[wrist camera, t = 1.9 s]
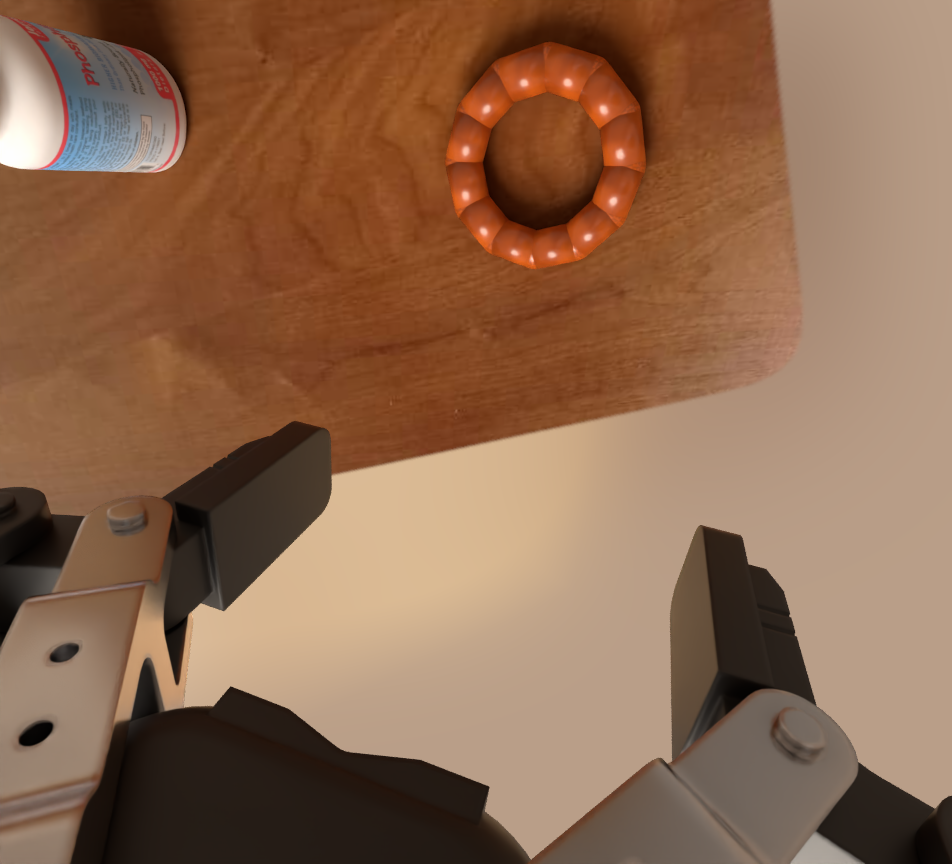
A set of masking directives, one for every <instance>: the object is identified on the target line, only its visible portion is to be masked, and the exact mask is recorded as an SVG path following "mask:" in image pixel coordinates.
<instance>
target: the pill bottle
mask: <svg viewBox="0 0 952 864" xmlns="http://www.w3.org/2000/svg"><path fill="white" fill-rule="evenodd" d="M185 140H186V113H185V107H184V103H183V99H182V96H181V93H180V91H179V89H178V86H177V85H176V83H175V81H174V79H173V78H172V76H171V75H170V74H169V72H168V71H167V70H166V69H165V67H164V66H163V65H162V64H161V63H160V62H158V61H157V60H156V59H155V58H153V57H152V56H150V55H149V54H147V53H145V52H143V51H140V50H137V49H134V48H130V47H127V46H123V45H119V44H115V43H111V42H107V41H103V40H99V39H95V38H91V37H87V36H83V35H79V34H75V33H71V32H67V31H63V30H59V29H55V28H51V27H48V26H44V25H40V24H35V23H31V22H27V21H23V20H19V19H15V18H11V17H7V16H3V15H0V163H2V164H4V165H7V166H11V167H15V168H20V169H34V170H36V169H37V170H73V171H113V172H159V171H163V170H166V169H168V168H170V167H171V166H172V165H174V164H175V163H176V161H177V160H178V159H179V157H180V156H181V154H182V151H183V148H184V145H185Z"/></svg>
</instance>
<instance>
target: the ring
mask: <svg viewBox="0 0 952 864" xmlns="http://www.w3.org/2000/svg"><path fill="white" fill-rule="evenodd" d="M546 92H549V93H552V94H555V95H558V96H561V97H564V98H567V99H571V100H574V101H577V102H579V103H580V105H581V106H582V107H583V109H584V110H585V111H586V112H587V114H588V115H589V116H590V118H591V119H592V120H593V122H594V123H595V124H596V125H597V127H598V128H599V129H600V136H601V144H602V152H603V160H604V168H603V171H602V174H601V176H600V179H599V182H598V185H597V187H596V190H595V193H594V196H593V198H592V201H591V202H590V203H588V204H587V205H586V206H585V207H584V208H583V209H582V210H581V211H580V212H579V213H578V214H577V215H575V216H574V217H573V218H572V219H571V220H570V221H569V222H568V223H566V224H562V225H557V226H553V227H549V228H544V229H540V230H535V229H532V228H529V227H527V226H524V225H521V224H518V223H515V222H513V221H510V220H508V218H507V217H506V216H505V215H504V214H503V212H502V211H501V210H500V209H499V207H498V206H497V205H496V204H495V202H494V201H493V200H492V199H491V198H490V196H489V192H488V187H487V182H486V177H485V172H484V167H483V160H484V156H485V153H486V149H487V145H488V141H489V138H490V134H491V130H492V128H493V127H494V126H495V124H496V123H497V122H498V121H499V120H500V119H501V118H502V117H503V115H504V114H505V113H506V112H507V111H508V110H509V109H510V108H511V106H512V105H513V104H514V103H515V102H518V101H521V100H524V99H527V98H530V97H533V96H536V95H540V94H543V93H546ZM445 166H446V170H447V175H448V180H449V184H450V189H451V193H452V198H453V202H454V207H455V211H456V214H457V216H458V217H459V219H460V220H461V221H462V222H463V223H464V225H465V226H466V227H467V228H468V229H469V231H470V232H471V233H472V234H473V235H474V237H475V238H476V239H477V240H478V241H479V243H480V244H481V245H482V246H483V248H484V249H485V250H486V251H487V252H489V253H490V254H492V255H495V256H498V257H500V258H503V259H506V260H509V261H511V262H514V263H517V264H519V265H522V266H525V267H528V268H531V269H539V268H544V267H549V266H554V265H559V264H564V263H569V262H573V261H578V260H581V259H583V258H585V257H586V256H587V255H588V254H590V253H591V252H592V251H593V250H594V249H595V248H597V247H598V246H599V245H600V244H601V243H602V242H603V241H605V240H606V239H607V238H608V237H609V236H610V235H612V234H613V233H614V232H615V231H616V230H617V229H618V228H620V227H621V226H622V225H623V223H624V222H625V220H626V218H627V215H628V213H629V210H630V208H631V205H632V203H633V200H634V198H635V195H636V193H637V190H638V188H639V185H640V183H641V180H642V178H643V175H644V173H645V170H646V155H645V145H644V135H643V125H642V115H641V108H640V105H639V103H638V102H637V100H636V99H635V97H634V96H633V95H632V93H631V92H630V91H629V89H628V88H627V87H626V85H625V84H624V83H623V81H622V80H621V79H620V77H619V76H618V75H617V73H616V72H615V71H614V69H613V68H612V67H611V66H610V64H609V63H608V62H607V61H606V60H605V59H604V58H603V57H601V56H598V55H595V54H592V53H588V52H585V51H582V50H578V49H575V48H572V47H569V46H565V45H562V44H559V43H555V42H545V43H542V44H539V45H536V46H534V47H531V48H528V49H525V50H522V51H519V52H516V53H514V54H511V55H508V56H505V57H502V58H500V59H498V60H496V61H495V62H494V63H492V65H491V66H490V67H489V68H488V69H487V71H486V72H485V73H484V74H483V75H482V77H481V78H480V79H479V80H478V81H477V83H476V84H475V85H474V86H473V87H472V89H471V90H470V91H469V92H468V93H467V95H466V96H465V97H464V98H463V99H462V101H461V102H460V103H459V105H458V107H457V110H456V115H455V119H454V123H453V127H452V132H451V136H450V140H449V145H448V149H447V153H446V158H445Z"/></svg>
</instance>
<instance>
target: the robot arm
mask: <svg viewBox="0 0 952 864" xmlns="http://www.w3.org/2000/svg"><path fill="white" fill-rule="evenodd" d="M331 481H332V480H331V438H330V434H329V432H328V430H327V429H325V428H321V427H317V426H313V425H309V424H305V423H301V422H297V421H294V422H291V423H289V424H288V425H286V426H285V427H283V428H282V429H280V430H279V431H278V432H276V433H275V434H273V435H272V436H270V437H269V436H267V437H264V438H261V439H258V440H255V441H252V442H249V443H246V444H244V445H243V446H241V447H240V448H238V449H237V450H235V451H233V452H232V453H230V454H229V455H228V457H227V458H225V457H224V458H223V459H221V460H220V461H218V462H217V463H215V464H213V467H209V468H207V469H206V470H204V471H203V472H201V473H200V474H198V475H197V476H195V477H193V478H192V479H190V480H189V481H187V482H186V483H184V484H183V485H181V486H180V487H178V488H177V489H175V490H173V491H172V492H170V493H169V494H167V495H166V496H164V497H163V498H158V497H154V496H131V497H125V498H120V499H117V500H113V501H111V502H108V503H105V504H103V505H101V506H99V507H97V508H96V509H94V510H93V511H91V512H90V513H89V514H88V515H87V516H72V515H54V514H51V513H50V510H49V507H48V504H47V500H46V497H45V495H44V494H43V493H42V492H41V491H39V490H36V489H33V488H27V487H10V488H2V489H0V864H952V796H949V797H947V798H945V799H944V800H942V802H941V803H940V804H939V805H938V806H937V807H936V808H935V809H934V808H933V807H931V806H929V805H927V804H925V803H924V802H922V801H920V800H919V799H917V798H915V797H913V796H912V795H910V794H908V793H906V792H905V791H903V790H901V789H900V788H898V787H896V786H894V785H892V784H891V783H889V782H888V781H886V780H884V779H882V778H881V777H879V776H877V775H876V774H874V773H873V772H871V771H870V770H868V769H867V768H866V767H864V766H863V765H862V764H860V763H859V762H858V759H857V756H856V752H855V750H854V748H853V746H852V744H851V742H850V740H849V739H848V737H847V736H846V734H845V733H844V731H843V730H842V729H841V728H840V726H838V724H837V723H836V722H835V721H834V720H833V719H832V718H831V717H830V716H828V715H827V714H826V713H825V712H824V711H823V710H821V709H820V708H818V707H817V706H816V702H815V699H814V695H813V693H812V689H811V685H810V682H809V678H808V675H807V671H806V668H805V665H804V661H803V657H802V654H801V650H800V647H799V643H798V640H797V637H796V636H795V630H794V626H793V622H792V619H791V617H789V615H790V612H789V608H788V605H787V601H786V598H785V594H784V591H783V590H782V589H781V587H780V586H779V585H778V583H777V582H776V581H775V580H774V578H773V577H772V576H771V575H770V573H769V572H768V571H767V570H766V569H764V568H760V567H756V566H752V565H749V564H748V562H747V556H746V552H745V547H744V543H743V538H742V537H741V535H737V534H734V533H730V532H726V531H722V530H718V529H714V528H710V527H706V526H702V525H700V526H699V527H698V528H697V530H696V532H695V534H694V537H693V539H692V542H691V545H690V548H689V551H688V553H687V556H686V559H685V562H684V564H683V567H682V570H681V572H680V575H679V578H678V581H677V584H676V586H675V590H674V594H673V598H672V604H671V611H670V633H671V634H670V637H671V638H670V639H671V640H670V641H671V706H672V707H671V708H672V762H671V763H668V764H667V763H666V762H665V761H664V760H663V759H662V758H657V759H654V760H652V761H651V762H650V763H648V764H646V765H645V766H644V767H642V768H641V769H640V770H639V771H638V772H636V773H635V774H634V775H633V776H632V777H630V778H629V779H628V780H627V781H626V782H624V783H623V784H622V785H621V786H620V787H618V788H617V789H616V790H615V791H613V792H612V793H611V794H610V795H609V796H607V797H606V798H605V799H604V800H603V801H602V802H600V803H599V804H598V805H597V806H595V807H594V808H593V809H592V810H591V811H589V812H588V813H587V814H586V815H585V816H583V817H582V818H581V819H580V820H579V821H577V822H576V823H575V824H574V825H572V826H571V827H570V828H569V829H568V830H567V831H565V832H564V833H563V834H562V835H561V836H559V837H558V838H557V839H556V840H554V841H553V842H552V843H551V844H550V845H549V846H547V847H546V848H545V849H544V850H542V851H541V852H540V853H539V854H537V855H536V856H535V857H534V858H533V859H532V860H531V859H530V858H529V856H528V855H527V853H526V852H525V851H524V849H523V848H522V847H521V846H520V844H519V843H518V842H517V841H516V840H515V838H514V837H513V836H512V835H511V834H510V833H509V832H508V831H507V830H506V829H505V828H504V827H503V826H502V825H501V824H500V823H499V822H498V821H496V820H495V819H494V818H493V817H491V816H490V815H489V814H487V813H486V812H485V806H486V802H487V797H488V792H489V786H486V785H483V784H481V783H479V782H476V781H473V780H471V779H468V778H465V777H463V776H460V775H458V774H455V773H453V772H450V771H447V770H445V769H442V768H440V767H437V766H435V765H432V764H430V763H427V762H424V761H422V760H416V759H407V758H398V757H388V756H379V755H369V754H360V753H350V752H346V751H343V750H341V749H339V748H338V747H336V746H335V745H334V744H332V743H331V742H330V741H328V740H327V739H326V738H325V737H324V736H322V735H321V734H320V733H318V732H317V731H316V730H315V729H313V728H312V727H311V726H310V725H308V724H307V723H306V722H305V721H303V720H302V719H301V718H299V717H298V716H297V715H296V714H294V713H293V712H292V711H291V710H289V709H287V708H285V707H282V706H280V705H277V704H274V703H272V702H269V701H267V700H264V699H262V698H259V697H257V696H254V695H252V694H249V693H246V692H244V691H241V690H238V689H236V688H233V687H230V688H229V689H228V690H227V691H226V692H225V694H224V695H223V696H222V697H221V698H220V700H219V701H218V702H217V703H216V704H215V705H214V707H212V706H195V707H185V708H184V696H185V687H186V679H187V671H188V662H189V653H190V645H191V636H192V628H193V618H192V611H193V610H194V609H195V608H196V607H197V606H198V605H199V604H200V603H202V604H205V605H208V606H210V607H213V608H216V609H219V610H222V611H225V610H226V609H227V608H228V606H230V605H231V604H232V602H234V601H235V600H236V598H238V596H240V595H241V594H242V593H243V592H244V591H245V590H246V589H247V588H248V587H249V586H250V585H251V584H252V583H253V582H254V581H255V580H256V579H257V577H259V576H260V575H261V574H262V573H263V572H264V571H265V570H266V569H267V568H268V567H269V566H270V565H271V564H272V563H273V562H274V561H275V560H276V558H278V557H279V556H280V554H281V553H282V552H284V550H286V549H287V548H288V547H289V546H290V545H291V544H292V543H293V542H294V540H296V539H297V538H298V537H299V536H300V535H301V534H302V533H303V532H304V531H305V530H306V529H307V528H308V527H309V525H311V524H312V523H313V522H314V521H315V520H316V519H317V518H318V517H319V516H320V515H321V514H322V512H323V511H324V510H325V508H326V506H327V504H328V502H329V499H330V495H331V489H332V488H331V487H332V483H331Z"/></svg>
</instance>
